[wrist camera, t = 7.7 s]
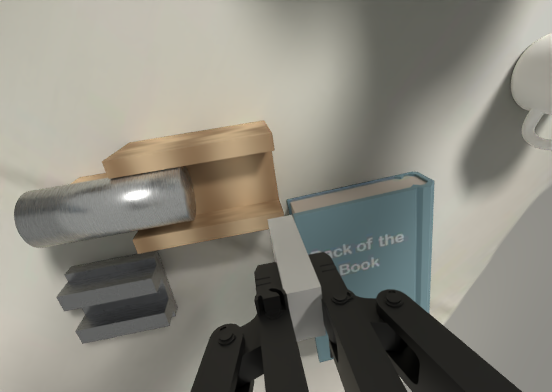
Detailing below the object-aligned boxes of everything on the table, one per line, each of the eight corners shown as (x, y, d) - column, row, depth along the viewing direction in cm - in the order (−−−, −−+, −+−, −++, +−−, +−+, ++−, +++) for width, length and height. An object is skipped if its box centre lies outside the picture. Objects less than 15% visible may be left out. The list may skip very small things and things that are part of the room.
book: (286, 198, 36) (294, 216, 31) (413, 169, 37) (439, 183, 32) (310, 332, 45) (319, 362, 40) (412, 307, 46) (432, 333, 41)
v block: (99, 323, 39) (86, 349, 35) (71, 266, 35) (52, 289, 31) (177, 307, 39) (171, 331, 36) (157, 250, 36) (148, 270, 32)
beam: (263, 120, 31) (272, 133, 25) (275, 197, 35) (285, 225, 29) (68, 152, 30) (24, 174, 24) (101, 229, 34) (71, 266, 27)
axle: (187, 162, 28) (174, 168, 24) (199, 212, 30) (189, 227, 25) (47, 186, 28) (5, 197, 23) (65, 236, 29) (27, 257, 24)
